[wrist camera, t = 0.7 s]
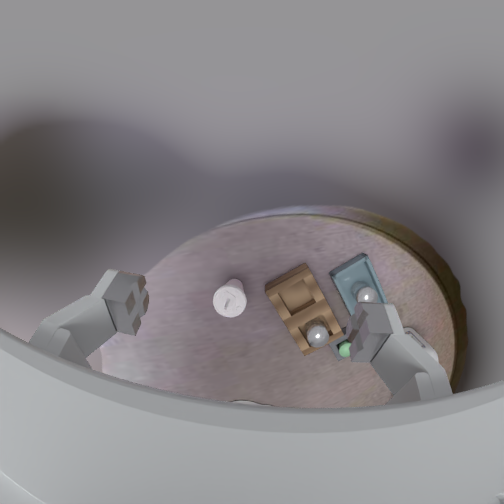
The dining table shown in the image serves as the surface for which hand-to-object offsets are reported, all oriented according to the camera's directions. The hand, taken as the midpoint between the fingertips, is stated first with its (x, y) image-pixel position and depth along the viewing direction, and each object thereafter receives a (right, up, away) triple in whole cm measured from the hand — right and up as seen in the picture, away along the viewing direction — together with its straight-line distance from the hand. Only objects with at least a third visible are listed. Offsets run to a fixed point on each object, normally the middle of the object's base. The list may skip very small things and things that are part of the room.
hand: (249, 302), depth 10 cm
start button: (+22, -20, +50) cm, 58 cm away
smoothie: (-4, -6, +51) cm, 51 cm away
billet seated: (+14, -15, +49) cm, 53 cm away
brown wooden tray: (+12, -11, +51) cm, 53 cm away
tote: (+25, -7, +49) cm, 55 cm away
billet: (+25, -7, +49) cm, 55 cm away
